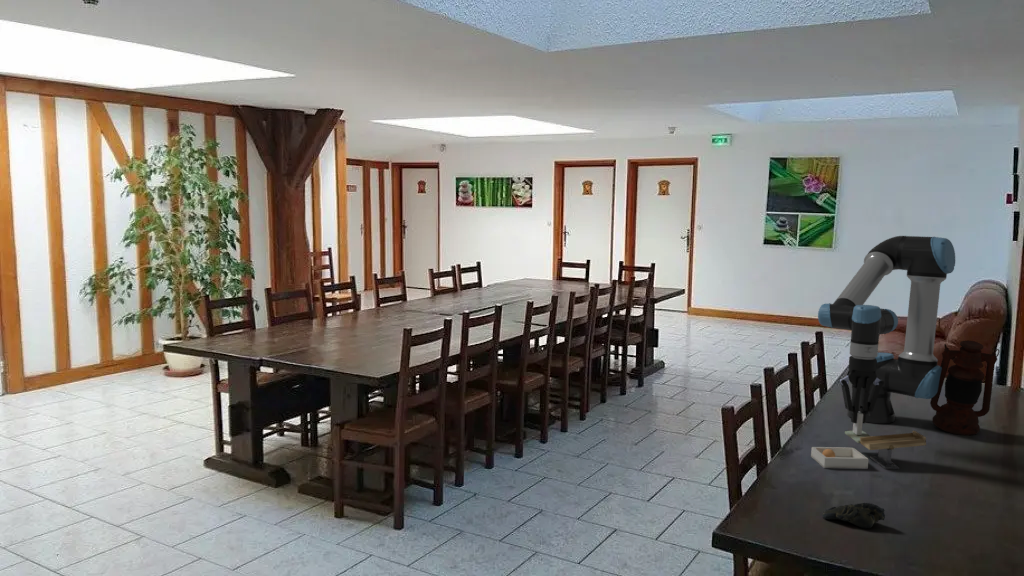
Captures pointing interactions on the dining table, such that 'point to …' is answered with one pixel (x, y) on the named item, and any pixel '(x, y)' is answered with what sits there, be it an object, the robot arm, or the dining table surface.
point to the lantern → (964, 388)
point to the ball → (828, 453)
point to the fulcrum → (884, 459)
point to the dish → (840, 458)
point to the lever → (888, 440)
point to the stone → (856, 514)
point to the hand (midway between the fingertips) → (857, 433)
